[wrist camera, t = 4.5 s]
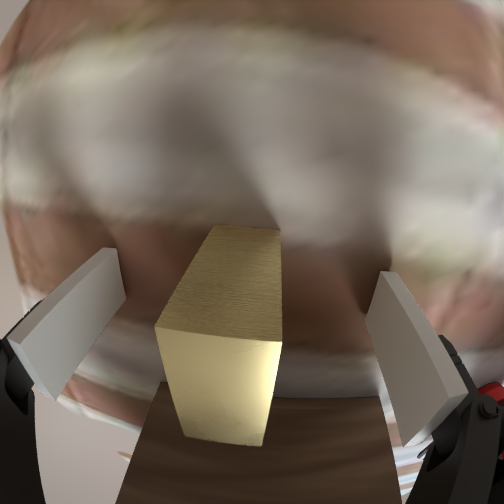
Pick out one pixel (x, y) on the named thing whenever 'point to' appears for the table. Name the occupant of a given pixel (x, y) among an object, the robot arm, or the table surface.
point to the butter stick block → (225, 335)
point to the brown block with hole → (268, 458)
